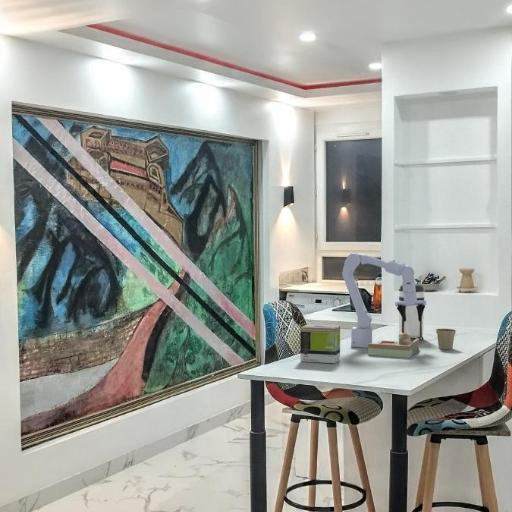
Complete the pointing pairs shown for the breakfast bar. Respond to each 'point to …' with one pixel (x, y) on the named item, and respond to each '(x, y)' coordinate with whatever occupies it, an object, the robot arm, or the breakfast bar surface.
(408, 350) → the box
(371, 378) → the breakfast bar surface
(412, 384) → the breakfast bar surface
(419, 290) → the coffee press
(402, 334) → the maple block
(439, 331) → the flower pot
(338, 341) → the tea box
